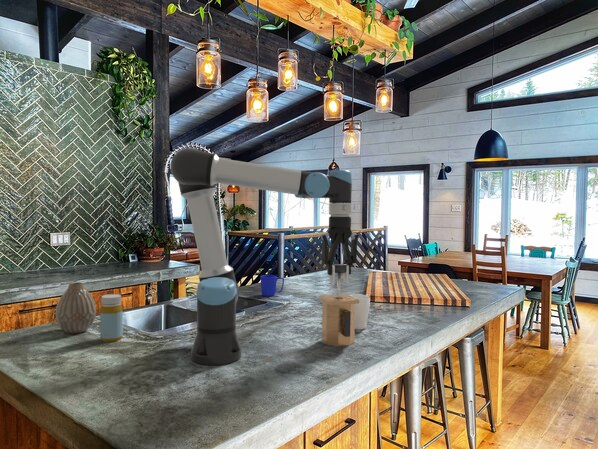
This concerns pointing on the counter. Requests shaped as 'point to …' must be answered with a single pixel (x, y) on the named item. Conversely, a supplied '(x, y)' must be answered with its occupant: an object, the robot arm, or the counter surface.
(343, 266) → the plunger
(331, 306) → the block
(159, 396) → the counter surface
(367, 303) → the cup
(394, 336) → the counter surface
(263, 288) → the mug
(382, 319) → the counter surface
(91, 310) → the vase
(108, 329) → the bottle
